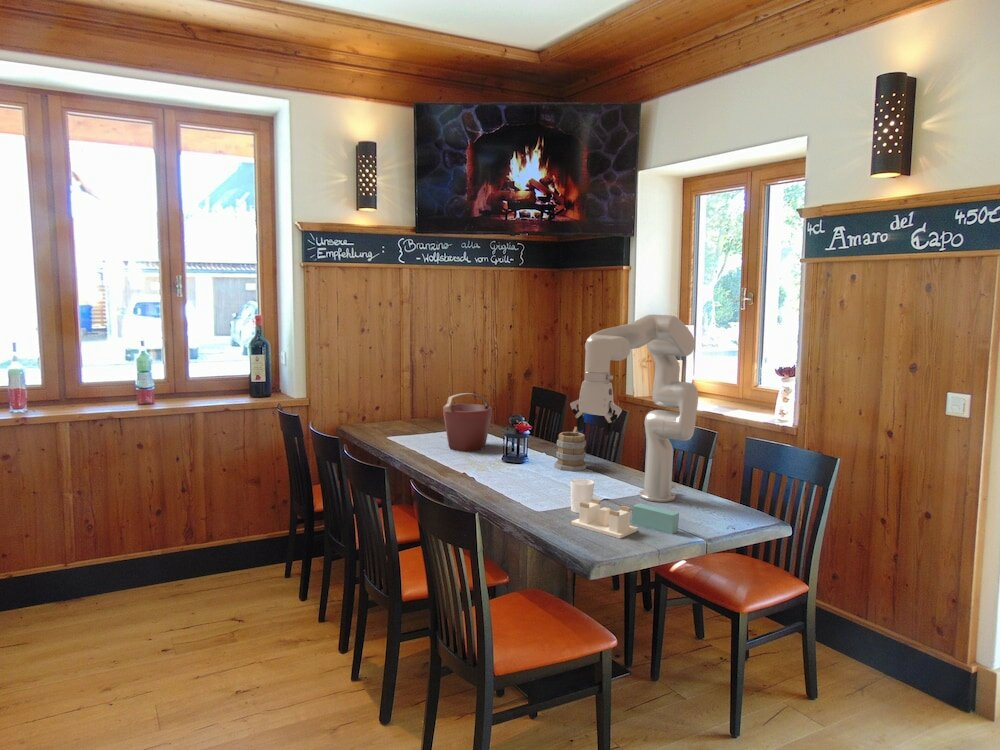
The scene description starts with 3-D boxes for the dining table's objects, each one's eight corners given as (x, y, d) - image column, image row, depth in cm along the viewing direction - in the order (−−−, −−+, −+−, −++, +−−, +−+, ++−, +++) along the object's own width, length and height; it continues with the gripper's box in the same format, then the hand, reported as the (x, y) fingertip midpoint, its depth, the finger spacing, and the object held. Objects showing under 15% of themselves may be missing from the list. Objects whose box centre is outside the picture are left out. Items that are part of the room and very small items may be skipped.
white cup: (591, 507, 247) (592, 478, 246) (594, 514, 239) (596, 485, 238) (567, 507, 247) (569, 478, 245) (570, 514, 239) (572, 484, 238)
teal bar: (638, 521, 234) (639, 503, 233) (677, 531, 225) (679, 512, 224) (631, 524, 231) (632, 505, 230) (671, 534, 222) (673, 515, 221)
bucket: (447, 454, 319) (448, 398, 316) (432, 443, 339) (433, 390, 336) (499, 450, 328) (500, 396, 325) (481, 440, 348) (482, 389, 345)
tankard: (582, 472, 294) (583, 436, 292) (551, 469, 297) (553, 433, 296) (591, 461, 312) (593, 427, 311) (563, 458, 316) (564, 424, 314)
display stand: (589, 517, 236) (590, 495, 235) (637, 530, 224) (638, 508, 223) (571, 524, 228) (571, 502, 228) (620, 538, 217) (621, 515, 216)
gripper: (628, 379, 220) (625, 434, 222) (577, 374, 230) (575, 427, 232) (617, 381, 214) (614, 438, 216) (566, 376, 223) (563, 430, 225)
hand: (594, 432), depth 224 cm, fingers open, 9 cm apart
